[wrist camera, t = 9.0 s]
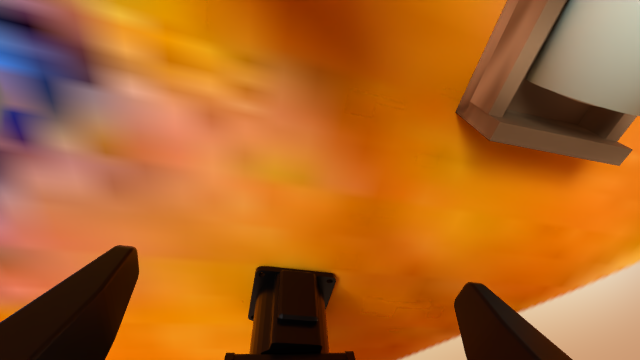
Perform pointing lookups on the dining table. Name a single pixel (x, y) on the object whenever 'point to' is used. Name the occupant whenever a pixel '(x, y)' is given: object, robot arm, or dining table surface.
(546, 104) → the tray
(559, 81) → the roll
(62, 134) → the dining table surface
